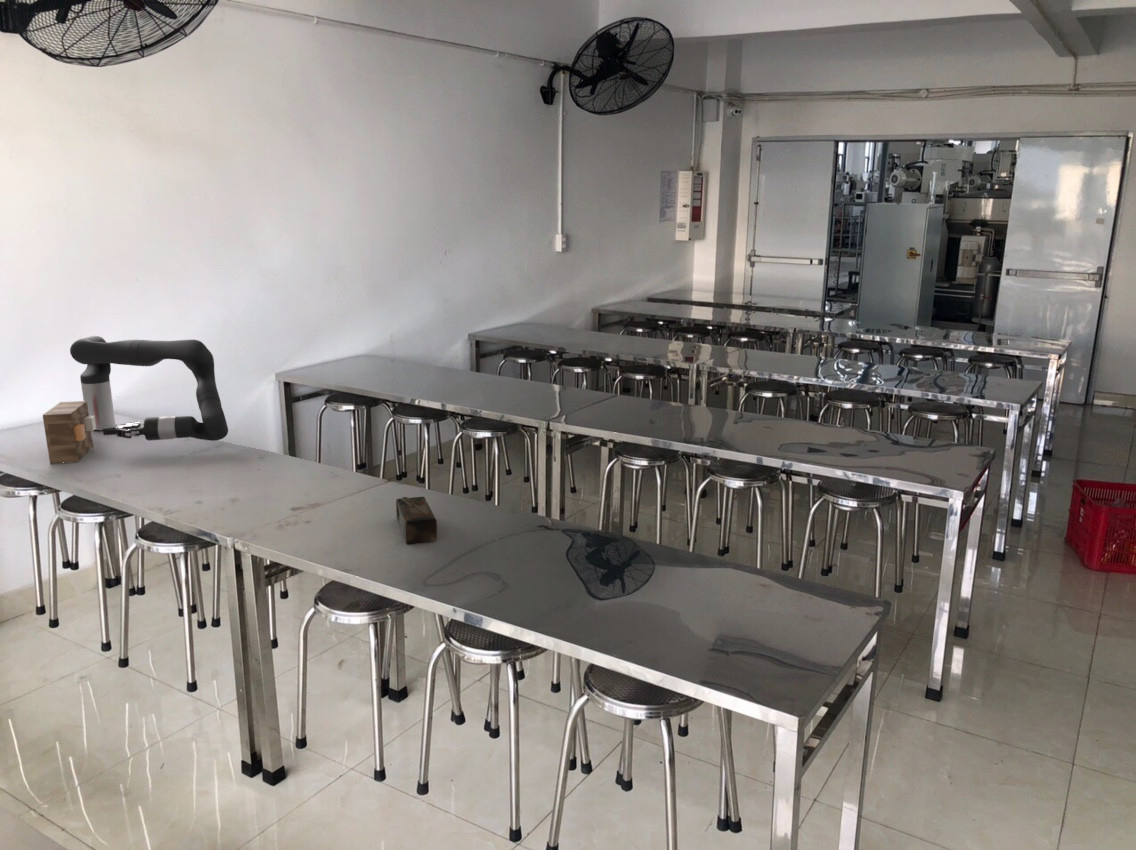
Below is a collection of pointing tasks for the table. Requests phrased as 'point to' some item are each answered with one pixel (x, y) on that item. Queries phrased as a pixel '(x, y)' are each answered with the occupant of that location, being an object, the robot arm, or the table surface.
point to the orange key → (79, 432)
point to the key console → (66, 432)
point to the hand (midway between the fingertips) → (103, 431)
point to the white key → (90, 423)
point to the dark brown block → (416, 520)
